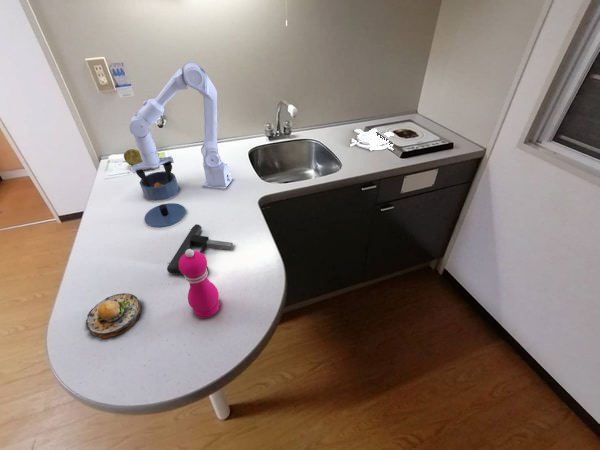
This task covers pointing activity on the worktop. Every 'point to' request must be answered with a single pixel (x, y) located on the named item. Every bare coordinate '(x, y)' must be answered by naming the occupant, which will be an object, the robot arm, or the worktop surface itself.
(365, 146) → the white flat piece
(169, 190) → the pot
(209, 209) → the worktop surface
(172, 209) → the lid
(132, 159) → the potato
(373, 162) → the worktop surface
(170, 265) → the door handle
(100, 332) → the burger on plate
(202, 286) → the pepper mill
